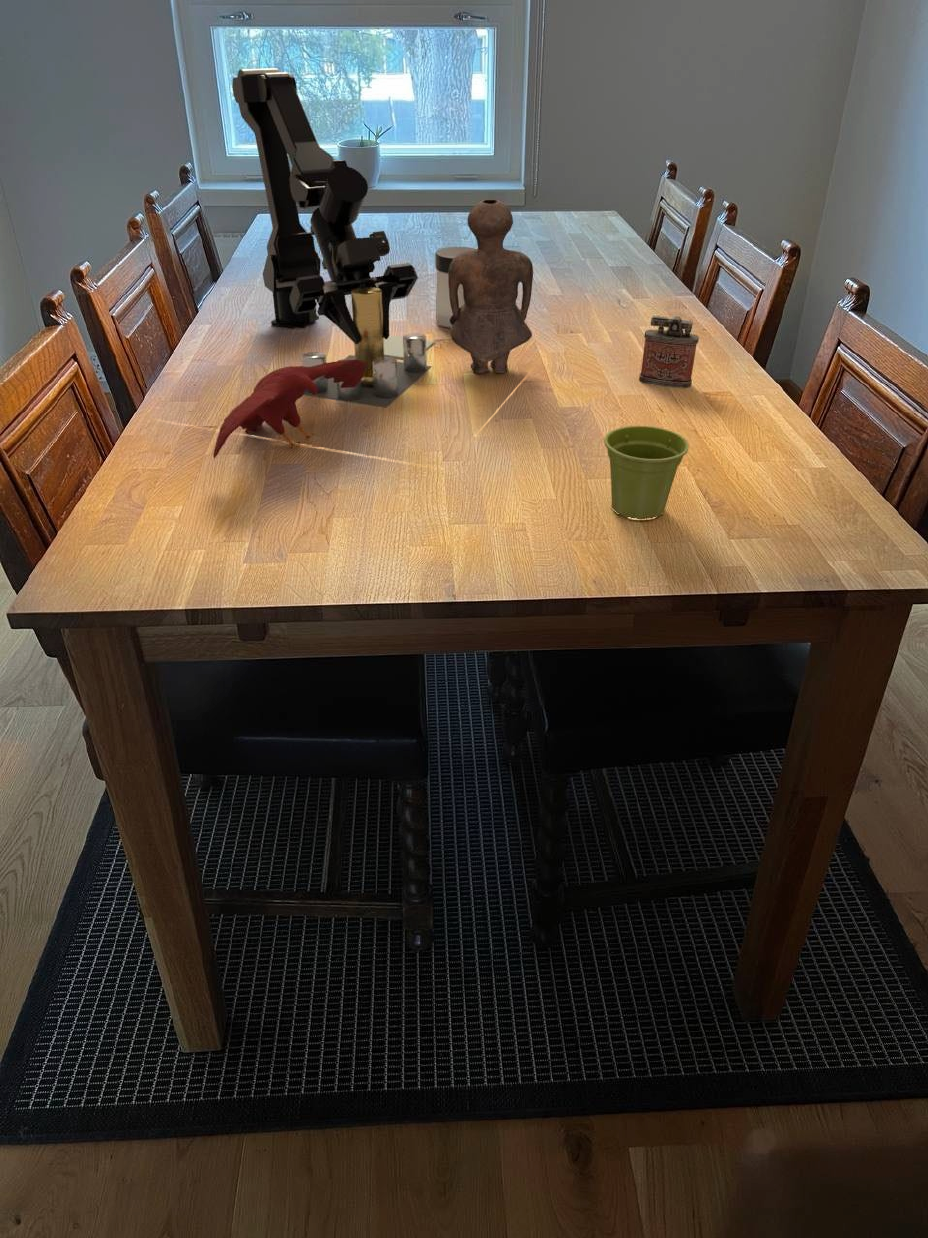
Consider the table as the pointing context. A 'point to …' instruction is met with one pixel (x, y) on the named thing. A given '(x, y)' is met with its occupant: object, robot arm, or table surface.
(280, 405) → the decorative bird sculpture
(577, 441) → the table surface
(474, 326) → the clay figurine
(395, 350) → the tile
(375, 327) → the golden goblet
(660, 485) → the plant pot
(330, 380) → the mat
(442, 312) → the jar
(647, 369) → the lighter
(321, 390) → the spacers
